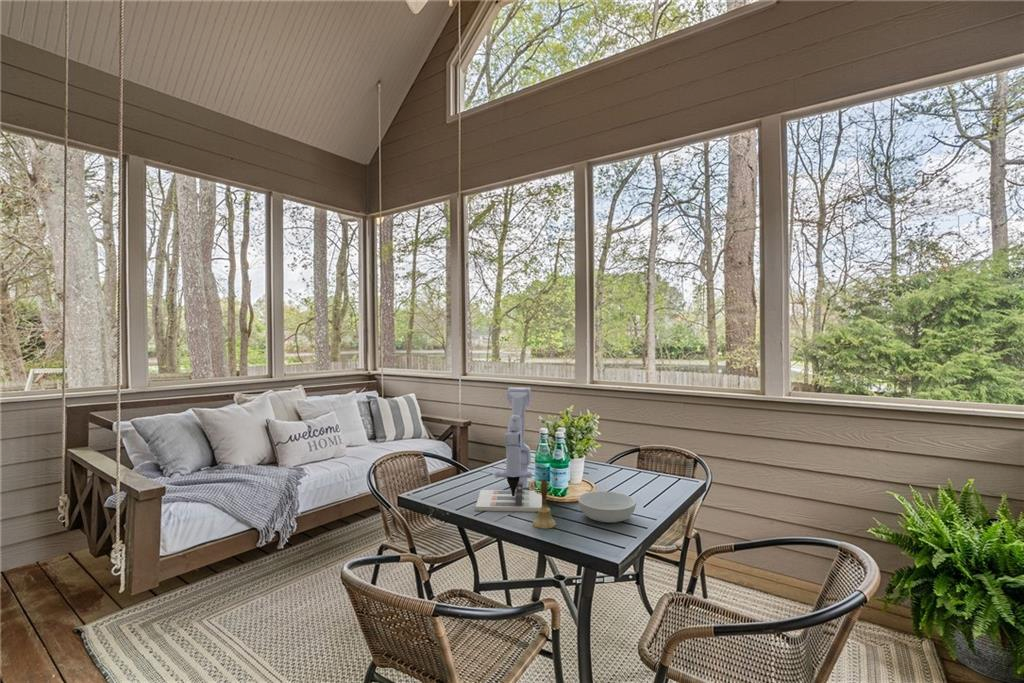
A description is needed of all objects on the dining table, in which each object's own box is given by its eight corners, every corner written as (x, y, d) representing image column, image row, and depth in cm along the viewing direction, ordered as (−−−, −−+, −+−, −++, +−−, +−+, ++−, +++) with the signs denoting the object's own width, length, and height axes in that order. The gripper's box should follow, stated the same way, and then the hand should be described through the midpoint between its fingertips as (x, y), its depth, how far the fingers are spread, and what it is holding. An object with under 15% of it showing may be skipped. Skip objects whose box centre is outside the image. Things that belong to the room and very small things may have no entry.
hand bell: (527, 524, 169) (527, 479, 169) (543, 518, 175) (543, 474, 175) (545, 531, 163) (545, 484, 163) (560, 524, 169) (560, 479, 169)
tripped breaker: (516, 495, 193) (516, 486, 193) (522, 495, 193) (522, 486, 193) (516, 498, 190) (516, 489, 190) (522, 498, 190) (522, 489, 190)
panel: (481, 493, 202) (481, 480, 202) (542, 494, 201) (542, 481, 201) (475, 510, 182) (475, 496, 182) (543, 511, 181) (543, 497, 181)
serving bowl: (646, 518, 175) (646, 499, 175) (614, 534, 160) (614, 514, 160) (599, 504, 190) (599, 486, 190) (566, 517, 175) (566, 499, 175)
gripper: (494, 464, 187) (494, 498, 188) (531, 464, 187) (531, 499, 187) (496, 459, 195) (496, 492, 195) (531, 459, 194) (531, 493, 194)
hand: (513, 495), depth 191 cm, fingers closed
